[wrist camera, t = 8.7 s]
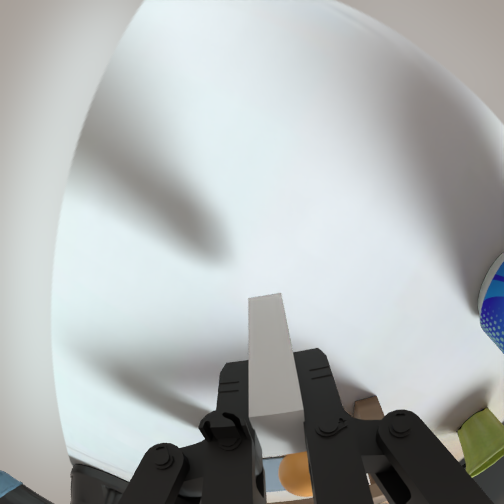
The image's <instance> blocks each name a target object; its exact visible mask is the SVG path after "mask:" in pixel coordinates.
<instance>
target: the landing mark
mask: <svg viewBox="0 0 504 504" xmlns="http://www.w3.org/2000/svg"><path fill="white" fill-rule="evenodd" d="M283 458H284V457H276V458H266V459H263V466H264V470H265V480H266V492H274V491H284V490H286V489H285V488H284V487H283V486H282V484H281V483H280V480H279V476H278V469H279V465H280V463H281V461H282V459H283Z"/></svg>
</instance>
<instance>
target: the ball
mask: <svg viewBox="0 0 504 504" xmlns="http://www.w3.org/2000/svg"><path fill="white" fill-rule="evenodd" d="M278 476H279V480H280V483H281V484H282V486H283V487H284V488H285V489H286V490H287V491H288V492H290V493H292V494H294V495H297V496H302V497H309V496H313V493H312V486H311V480H310V473H309V467H308V457H307V451H305V452H299V453H293V454H287V455H286V456H285V457H284V458H283V459H282V461H281V463H280V465H279V469H278Z"/></svg>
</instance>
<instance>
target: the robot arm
mask: <svg viewBox="0 0 504 504" xmlns="http://www.w3.org/2000/svg"><path fill="white" fill-rule="evenodd" d="M248 328H249V360H246V361H238V362H229V363H226V364H225V366H224V367H223V369H222V371H221V372H220V379H219V388H218V398H217V408H216V411H213V412H211V413H209V414H207V415H206V416H205V417H204V418H203V419H202V420H201V422H200V425H199V427H198V428H199V430H200V431H201V433H202V435H203V436H204V438H205V440H203V441H202V442H199V443H197V444H193V445H190V446H186V447H182V448H178V447H177V446H175V445H173V444H171V443H160V444H156V445H154V446H153V447H151V448H149V450H148V451H147V452H146V453H145V455H144V457H143V458H142V460H141V462H140V464H139V466H138V468H137V469H136V471H135V473H134V475H133V477H132V479H131V480H130V482H129V483H128V482H126V481H124V480H121V479H119V478H117V477H115V476H112V475H110V474H107V473H105V472H102V471H100V470H97V469H94V468H91V467H88V466H84V465H78V464H76V465H74V466H73V468H72V471H71V478H72V479H71V503H70V504H267V501H266V480H265V470H264V466H263V459H262V454H263V457H270V456H278V455H286V454H293V453H299V452H305V451H307V457H308V467H309V473H310V480H311V486H312V493H313V500H314V504H374V502H373V498H372V494H371V490H370V487H369V483H368V479H367V476H366V473H370V475H371V476H372V478H373V479H374V481H375V482H376V484H377V486H378V487H379V489H380V490H381V492H382V493H383V495H384V496H385V498H386V499H387V501H388V502H389V504H494V503H493V502H492V501H491V500H490V499H489V498H488V496H487V495H486V494H485V493H484V492H483V490H482V489H481V488H480V487H479V486H478V484H477V483H476V482H475V481H474V480H473V479H472V477H471V476H470V475H469V474H468V473H467V472H466V470H465V469H464V468H463V467H462V466H461V465H460V463H459V462H458V461H457V460H456V459H455V458H454V456H453V455H452V454H451V453H450V452H449V451H448V450H447V448H446V447H445V446H444V445H443V444H442V443H441V442H440V440H439V439H438V438H437V437H436V436H435V435H434V434H433V432H432V431H431V430H430V429H429V428H428V427H427V426H426V424H425V423H424V422H423V421H422V420H421V419H420V418H419V417H418V416H417V415H416V414H415V413H413V412H411V411H408V410H395V411H393V412H390V413H388V414H387V415H386V416H384V417H383V418H382V420H362V419H357V418H354V417H352V416H350V415H349V414H348V413H347V412H346V411H345V410H344V408H343V406H342V404H341V400H340V397H339V394H338V391H337V387H336V384H335V381H334V378H333V376H332V372H331V369H330V365H329V362H328V359H327V356H326V355H325V354H324V353H323V352H322V351H321V350H320V349H319V348H315V349H309V350H304V351H299V352H293V350H292V345H291V340H290V335H289V330H288V325H287V320H286V315H285V310H284V305H283V300H282V295H281V293H277V294H271V295H265V296H259V297H253V298H248ZM0 504H54V503H52V502H50V501H49V500H47V499H45V498H44V497H42V496H40V495H39V494H37V493H36V492H34V491H32V490H31V489H29V488H28V487H26V486H25V485H23V483H22V482H19V481H18V480H16V479H14V478H13V477H12V476H10V475H9V474H7V473H6V472H4V471H1V470H0Z"/></svg>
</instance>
